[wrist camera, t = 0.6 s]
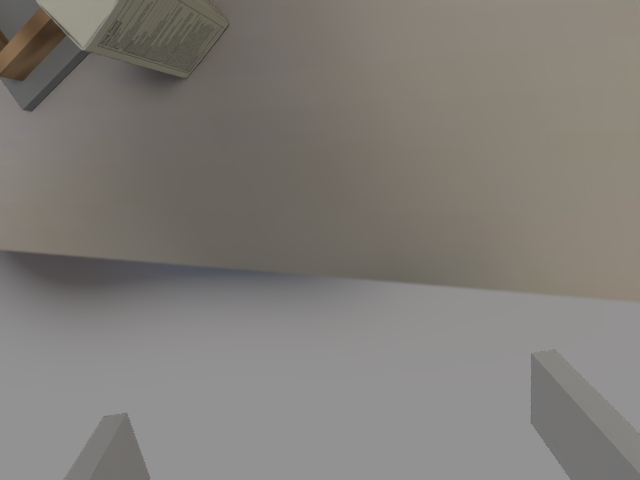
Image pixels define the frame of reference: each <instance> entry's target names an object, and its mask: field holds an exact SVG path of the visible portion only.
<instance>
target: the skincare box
mask: <svg viewBox="0 0 640 480" xmlns="http://www.w3.org/2000/svg"><path fill="white" fill-rule="evenodd" d="M36 2H37V3H38V4H39V5H40V6H41V8H42V9H43V10H44V11H45V12H46V13H47V14H48V15H49V16H50V17H51V18H52V19H53V21H54V22H55V23H56V24H57V25H58V26H59V27H60V28H61V29H62V30H63V31H64V32H65V33H66V35H67V36H68V37H69V38H70V39H71V40H72V41H73V42H74V43H75V44H76V45H77V46H78V47H79V48H80V49H81V50H83V51H87V52H91V53H95V54H98V55H102V56H106V57H109V58H113V59H116V60H120V61H124V62H127V63H131V64H134V65H138V66H142V67H145V68H149V69H153V70H156V71H160V72H163V73H167V74H171V75H174V76H178V77H181V78H187V77H188V76H189V75H190V74H191V72H192V71H193V70H194V69H195V67H196V66H197V65H198V64H199V62H200V61H201V60H202V59H203V57H204V56H205V55H206V53H207V52H208V51H209V50H210V48H211V47H212V46H213V45H214V43H215V42H216V41H217V39H218V38H219V37H220V35H221V34H222V32H223V31H224V30H225V28H226V27H227V26H228V24H229V23H228V21H227V20H226V19H225V18H224V17H223V16H222V14H221V13H220V12H219V11H218V10H217V9H216V8H215V7H214V6H213V5H212V4H211V3H210V2H209V1H208V0H36Z"/></svg>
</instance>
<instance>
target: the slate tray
mask: <svg viewBox="0 0 640 480" xmlns="http://www.w3.org/2000/svg"><path fill="white" fill-rule="evenodd" d="M40 7H41V6H40V5H39V4H38V3H37V2H36V0H0V30H1V31H2V32H3V34H4V35H5V37H6V38H7V39H8V41H9V42H10V41H11V40H12V38H13V37H14V36H15V35H16V34H17V33H18V32H19V31H20V30H21V28H22V27H23V26H24V25H25V24H26V23H27V22H28V21H29V20H30V18H31V17H32V16H33V15H34V14H35V13H36V12H37V11H38V10H39V8H40ZM89 53H90V52H87V51H83V50H81V49H80V48H79V47H78V46H77V45H76V44H75V43H74V42H73V41H72V40H71V39H70V38H69V37H68V36H67V35H66V36H65V37H64V39H63V40H62V41H61V42H60V43H59V44H58V45H57V46H56V47H55V48H54V49H53V50H52V51H51V52H50V53H49V54H48V55H47V56H46V57H45V58H44V60H43V61H42V62H41V63H40V64H39V65H38V66H37V67H36V68H35V69H34V70H33V71H32V72H31V73H30V74H29V75H28V76H27V77H26V78H25V80H24V81H19V80H14V79H8V78H3V77H0V79H1V80H2V81H3V83H4V84H5V86H6V87H7V88H8V90H9V91H10V93H11V94H12V95H13V97H14V98H15V100H16V101H17V103H18V104H19V105H20V107H21V108H22V110H28V111H32V110H33V109H34V108H35V107H36V106H37V105H38V104H39V103H40V102H41V101H42V100H43V99H44V98H45V97H46V96H47V95H48V94H49V93H50V92H51V91H52V90H53V89H54V88H55V87H56V86H57V85H58V84H59V83H60V82H61V81H62V80H63V79H64V78H65V77H66V76H67V75H68V74H69V73H70V72H71V71H72V70H73V69H74V68H75V67H76V66H77V65H78V64H79V63H80V62H81V61H82V60H83V59H84V58H85V57H86V56H87V55H88V54H89Z"/></svg>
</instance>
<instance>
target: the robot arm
mask: <svg viewBox="0 0 640 480" xmlns="http://www.w3.org/2000/svg"><path fill="white" fill-rule="evenodd" d="M531 423H532V425H533V426H534V428H535V429H536V431H537V432H538V433H539V435H540V436H541V438H542V439H543V441H544V442H545V443H546V445H547V446H548V448H549V449H550V451H551V452H552V454H553V455H554V456H555V458H556V459H557V461H558V462H559V464H560V465H561V466H562V468H563V469H564V471H565V472H566V473H567V475H568V476H569V478H570V479H571V480H640V433H639V432H638V431H637V430H636V429H635V428H634V427H633V426H631V424H630V423H629V422H628V421H627V420H626V419H625V418H623V416H622V415H621V414H620V413H619V412H618V411H617V410H616V409H615V408H614V407H613V406H611V404H610V403H609V402H608V401H607V400H605V399H604V398H603V396H602V395H601V394H599V393H598V392H597V390H596V389H594V388H593V386H591V385H590V384H589V382H587V381H586V380H585V379H584V378H583V377H582V376H581V375H580V374H579V373H578V372H577V371H576V370H575V369H574V368H573V367H572V366H571V365H570V364H569V363H568V362H567V361H566V360H565V359H564V358H563V357H562V356H561V355H560V354H559V353H558V352H557V351H556V350H548V351H541V352H535V353H531ZM64 480H150V476H149V473H148V470H147V468H146V465H145V462H144V459H143V456H142V454H141V451H140V448H139V445H138V442H137V440H136V437H135V434H134V431H133V428H132V426H131V423H130V420H129V417H128V414H127V413H123V414H116V415H109V416H104V417H103V418H102V420H101V421H100V423H99V425H98V426H97V428H96V429H95V431H94V433H93V434H92V436H91V437H90V439H89V440H88V442H87V443H86V445H85V447H84V448H83V450H82V451H81V453H80V455H79V456H78V458H77V459H76V461H75V463H74V464H73V466H72V467H71V469H70V470H69V472H68V474H67V475H66V477H65V478H64Z"/></svg>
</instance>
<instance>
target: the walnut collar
mask: <svg viewBox="0 0 640 480" xmlns="http://www.w3.org/2000/svg"><path fill="white" fill-rule="evenodd" d="M65 36H66V33H65V32H64V31H63V30H62V29H61V28H60V27H59V26H58V25H57V24H56V23H55V22H54V21H53V19H52V18H51V17H50V16H49V15H48V14H47V13H46V12H45V11H44V10H43V9H42V8H41V7H40V8H39V10H38V11H37V12H36V13H35V14H34V15H33V16H32V17H31V18H30V20H29V21H28V22H27V23H26V24H25V25H24V26H23V27H22V28H21V30H20V31H19V32H18V33H17V34H16V35H15V36H14V37H13V38H12V40H11V41H10V42H9V41H8V39H7V38H6V37H5V35H4V34H3V32H2V31H1V30H0V77H3V78H8V79H14V80H19V81H24V80H25V78H26V77H27V76H28V75H29V74H30V73H31V72H32V71H33V70H34V69H35V68H36V67H37V66H38V65H39V64H40V63H41V62H42V61H43V60H44V58H45V57H46V56H47V55H48V54H49V53H50V52H51V51H52V50H53V49H54V48H55V47H56V46H57V45H58V44H59V43H60V42H61V41H62V40H63V39H64V37H65Z"/></svg>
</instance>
